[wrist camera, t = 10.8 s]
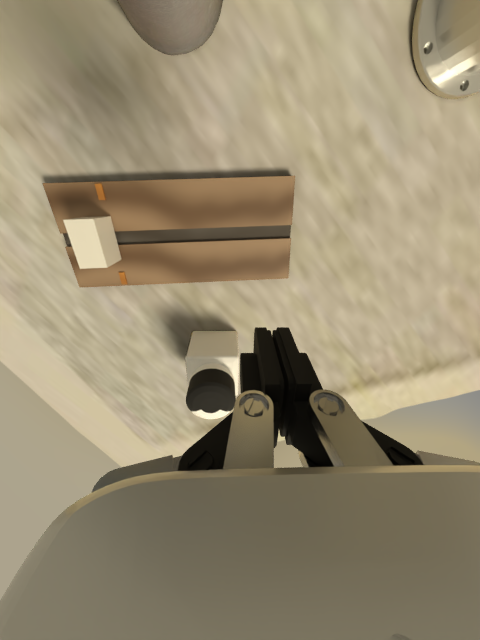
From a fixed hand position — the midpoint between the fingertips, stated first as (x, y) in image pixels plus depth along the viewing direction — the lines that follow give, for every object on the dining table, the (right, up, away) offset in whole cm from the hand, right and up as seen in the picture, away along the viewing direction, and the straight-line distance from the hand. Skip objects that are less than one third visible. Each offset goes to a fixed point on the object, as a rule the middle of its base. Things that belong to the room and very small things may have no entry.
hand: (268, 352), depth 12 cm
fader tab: (-18, +12, +17) cm, 27 cm away
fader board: (-9, +13, +18) cm, 24 cm away
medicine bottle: (-6, -3, +27) cm, 28 cm away
